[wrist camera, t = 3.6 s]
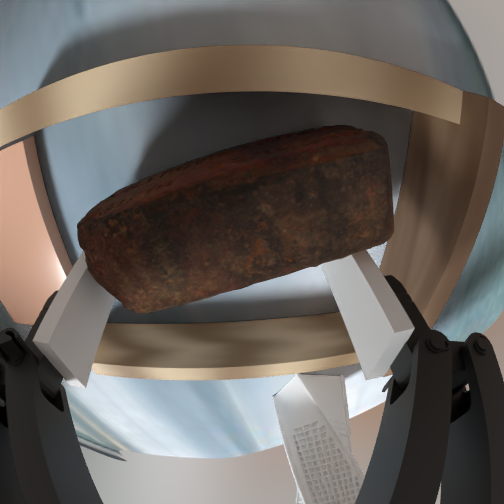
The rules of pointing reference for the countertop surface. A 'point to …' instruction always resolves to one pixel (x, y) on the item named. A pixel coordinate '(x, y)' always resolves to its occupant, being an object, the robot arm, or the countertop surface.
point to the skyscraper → (318, 439)
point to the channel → (405, 220)
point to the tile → (27, 236)
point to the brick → (241, 217)
